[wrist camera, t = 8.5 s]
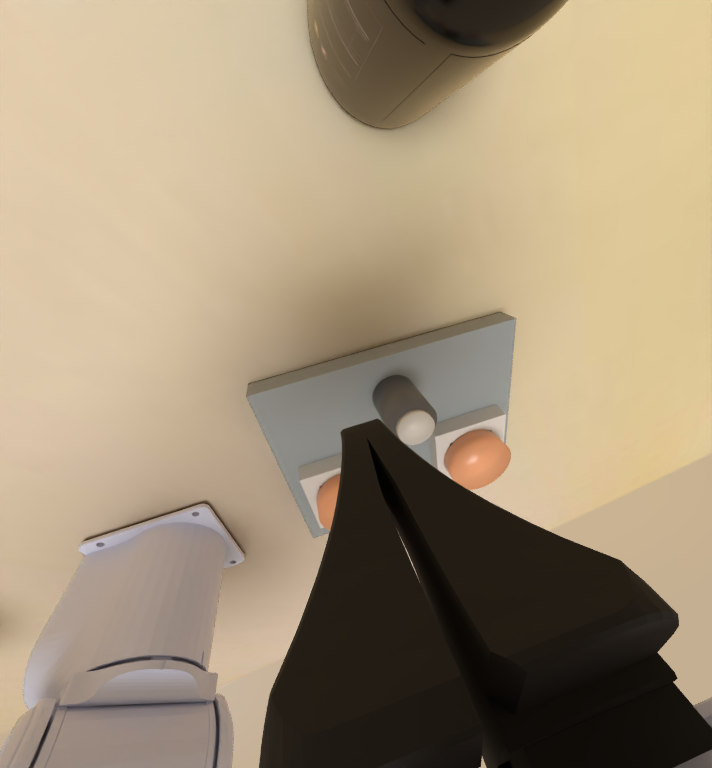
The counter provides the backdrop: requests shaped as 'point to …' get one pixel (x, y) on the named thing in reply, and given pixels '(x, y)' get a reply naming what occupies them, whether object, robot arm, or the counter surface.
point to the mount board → (355, 406)
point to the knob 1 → (327, 501)
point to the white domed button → (404, 409)
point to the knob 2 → (477, 459)
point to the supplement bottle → (413, 49)
